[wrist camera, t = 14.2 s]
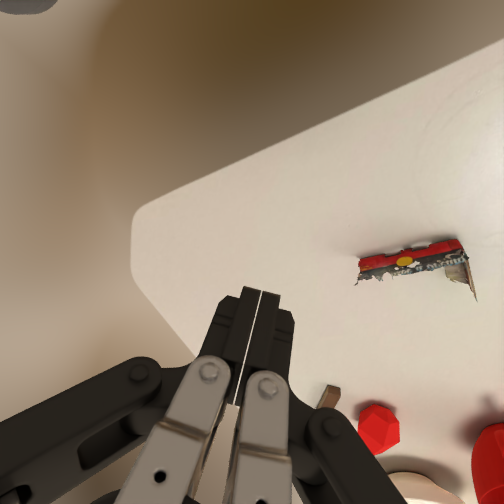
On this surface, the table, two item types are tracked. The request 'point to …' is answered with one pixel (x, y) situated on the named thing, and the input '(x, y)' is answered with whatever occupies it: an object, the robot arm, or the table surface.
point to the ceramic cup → (489, 465)
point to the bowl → (421, 490)
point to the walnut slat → (330, 397)
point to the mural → (421, 263)
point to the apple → (378, 428)
